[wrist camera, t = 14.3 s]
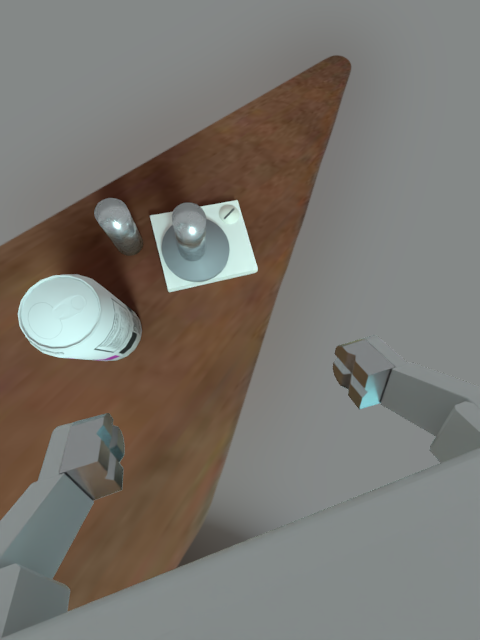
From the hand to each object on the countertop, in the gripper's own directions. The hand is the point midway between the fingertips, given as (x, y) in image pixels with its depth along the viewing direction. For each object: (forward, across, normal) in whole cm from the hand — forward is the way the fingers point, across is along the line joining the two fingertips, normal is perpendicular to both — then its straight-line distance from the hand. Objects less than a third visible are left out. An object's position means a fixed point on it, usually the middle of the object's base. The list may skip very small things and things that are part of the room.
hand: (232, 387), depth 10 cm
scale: (+36, -4, +8) cm, 37 cm away
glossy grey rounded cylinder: (+33, -2, +7) cm, 34 cm away
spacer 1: (+38, +7, +6) cm, 39 cm away
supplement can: (+29, +12, +16) cm, 35 cm away
